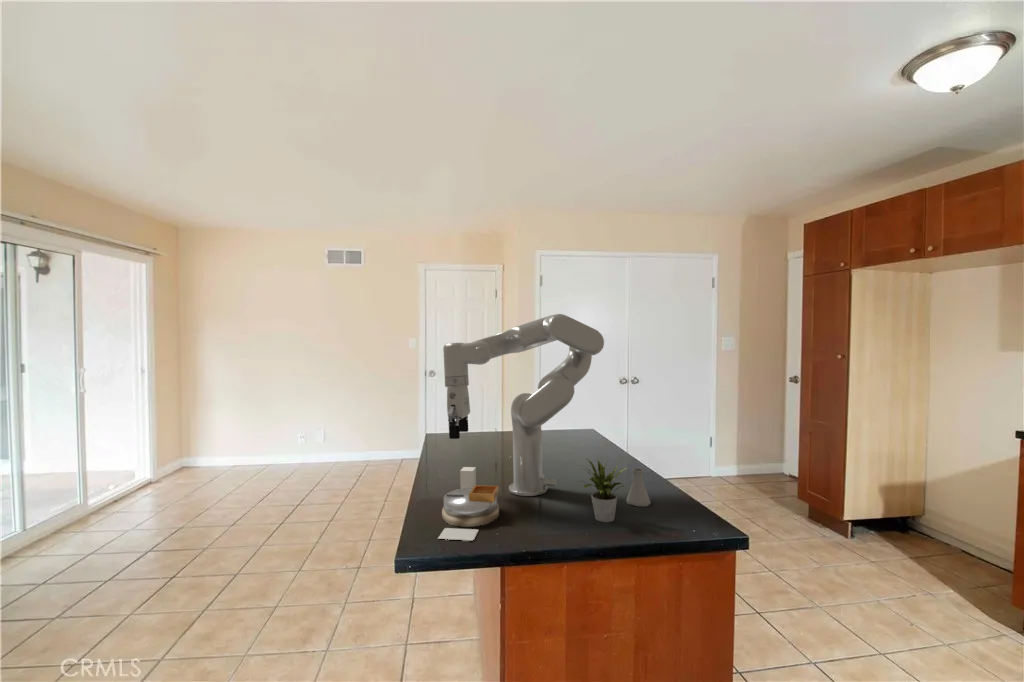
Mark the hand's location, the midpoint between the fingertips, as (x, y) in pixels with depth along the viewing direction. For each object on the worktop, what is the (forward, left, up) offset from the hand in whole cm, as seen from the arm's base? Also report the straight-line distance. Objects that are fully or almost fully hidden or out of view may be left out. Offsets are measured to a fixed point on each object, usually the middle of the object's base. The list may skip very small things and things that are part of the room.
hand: (459, 435), depth 139 cm
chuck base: (-7, +15, -19) cm, 25 cm away
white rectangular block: (-3, +1, -19) cm, 20 cm away
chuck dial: (-7, +15, -17) cm, 24 cm away
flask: (-55, +1, -20) cm, 58 cm away
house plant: (-43, +13, -20) cm, 49 cm away
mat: (-7, +28, -19) cm, 35 cm away
